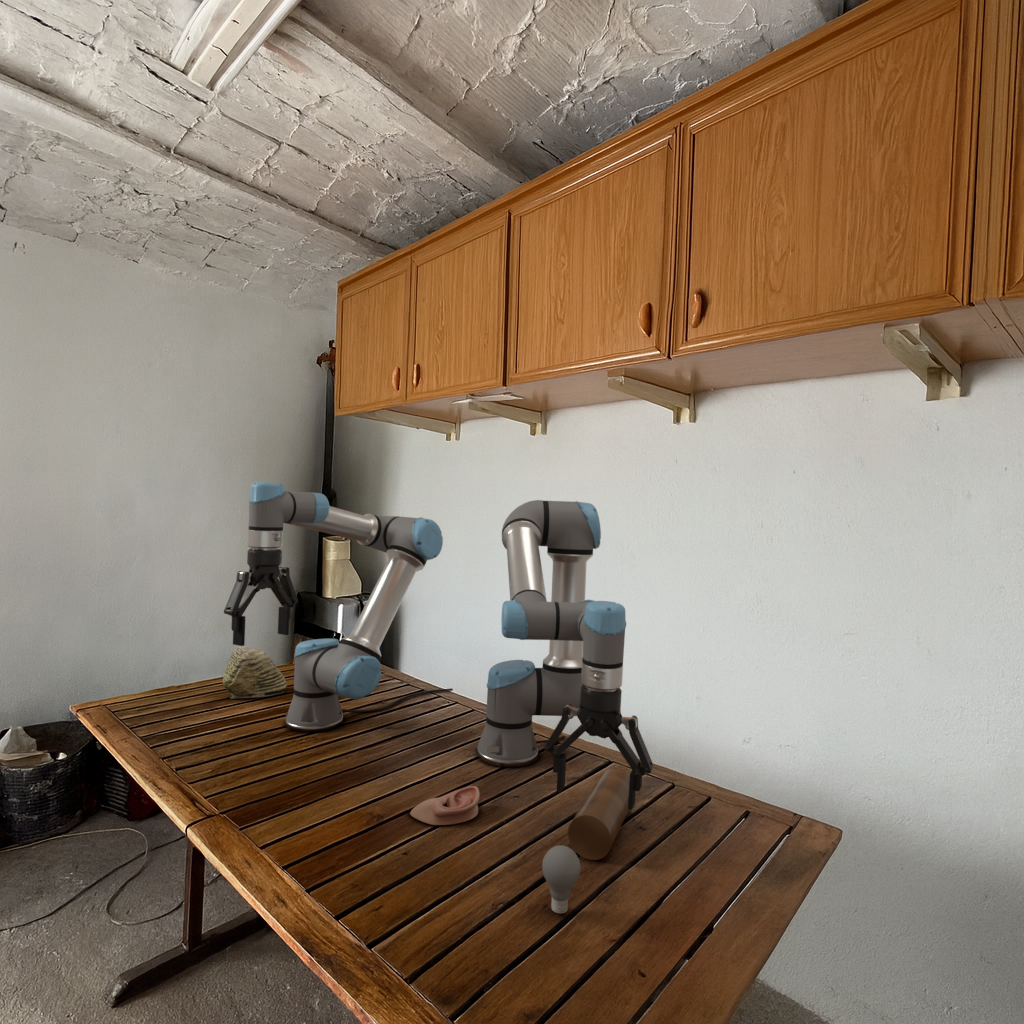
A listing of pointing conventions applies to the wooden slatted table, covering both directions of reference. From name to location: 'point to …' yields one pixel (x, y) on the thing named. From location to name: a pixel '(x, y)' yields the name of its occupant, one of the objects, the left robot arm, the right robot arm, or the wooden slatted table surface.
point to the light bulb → (560, 875)
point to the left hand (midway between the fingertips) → (261, 639)
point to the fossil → (252, 674)
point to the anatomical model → (449, 807)
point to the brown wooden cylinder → (600, 816)
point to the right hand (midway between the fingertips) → (595, 797)
